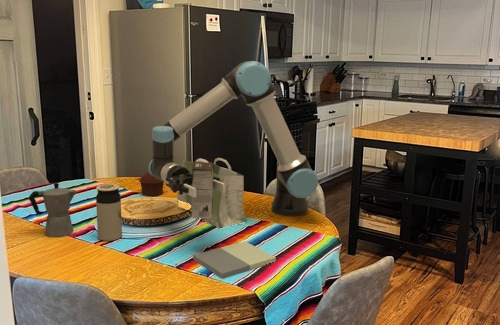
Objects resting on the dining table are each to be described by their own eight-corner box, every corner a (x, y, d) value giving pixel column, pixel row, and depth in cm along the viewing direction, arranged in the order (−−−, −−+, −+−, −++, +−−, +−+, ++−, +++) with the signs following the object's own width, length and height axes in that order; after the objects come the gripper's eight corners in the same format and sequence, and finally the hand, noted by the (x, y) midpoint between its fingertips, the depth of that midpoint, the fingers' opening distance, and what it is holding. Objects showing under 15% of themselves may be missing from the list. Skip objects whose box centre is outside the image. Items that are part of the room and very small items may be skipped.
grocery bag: (250, 222, 183) (251, 163, 178) (220, 230, 175) (220, 168, 170) (203, 202, 208) (203, 149, 203) (175, 207, 199) (175, 152, 194)
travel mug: (93, 240, 162) (91, 189, 158) (104, 232, 170) (102, 183, 166) (116, 242, 161) (113, 190, 157) (125, 234, 168) (124, 184, 165)
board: (244, 245, 161) (244, 241, 160) (275, 261, 148) (275, 257, 148) (193, 259, 149) (193, 254, 148) (222, 278, 136) (222, 273, 136)
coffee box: (193, 209, 158) (193, 161, 155) (212, 209, 159) (213, 161, 155) (191, 218, 149) (191, 168, 146) (212, 218, 150) (212, 168, 146)
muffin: (145, 189, 224) (144, 169, 222) (168, 191, 222) (167, 170, 220) (135, 197, 212) (135, 175, 210) (160, 198, 211) (159, 176, 209)
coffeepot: (79, 226, 175) (76, 178, 171) (79, 235, 166) (76, 185, 162) (32, 230, 169) (29, 181, 166) (30, 240, 161) (26, 188, 157)
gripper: (203, 181, 173) (239, 196, 156) (146, 190, 160) (177, 208, 143) (203, 161, 172) (239, 174, 154) (145, 168, 159) (177, 183, 141)
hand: (209, 190), depth 149 cm, fingers closed on coffee box, 10 cm apart
